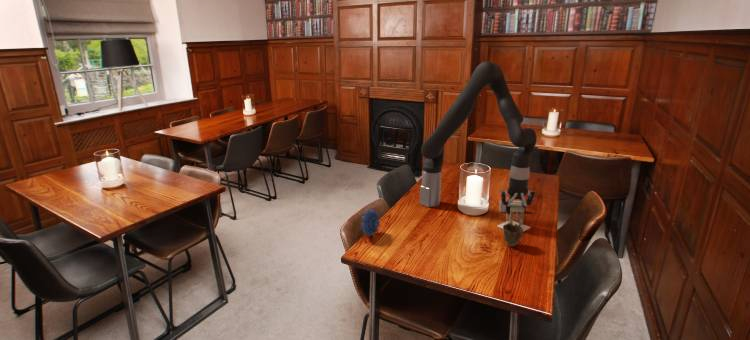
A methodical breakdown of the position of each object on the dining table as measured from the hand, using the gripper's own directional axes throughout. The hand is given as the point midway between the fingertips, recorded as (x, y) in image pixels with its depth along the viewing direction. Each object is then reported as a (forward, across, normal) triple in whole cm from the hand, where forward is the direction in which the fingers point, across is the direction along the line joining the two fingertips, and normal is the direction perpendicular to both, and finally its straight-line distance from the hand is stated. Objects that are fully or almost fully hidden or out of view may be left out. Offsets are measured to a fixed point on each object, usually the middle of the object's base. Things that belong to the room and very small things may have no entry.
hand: (515, 213), depth 171 cm
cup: (+7, +6, +16) cm, 19 cm away
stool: (+4, 0, +3) cm, 5 cm away
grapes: (+7, +61, +9) cm, 62 cm away
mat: (+7, 0, 0) cm, 7 cm away
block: (+7, -5, -17) cm, 19 cm away
